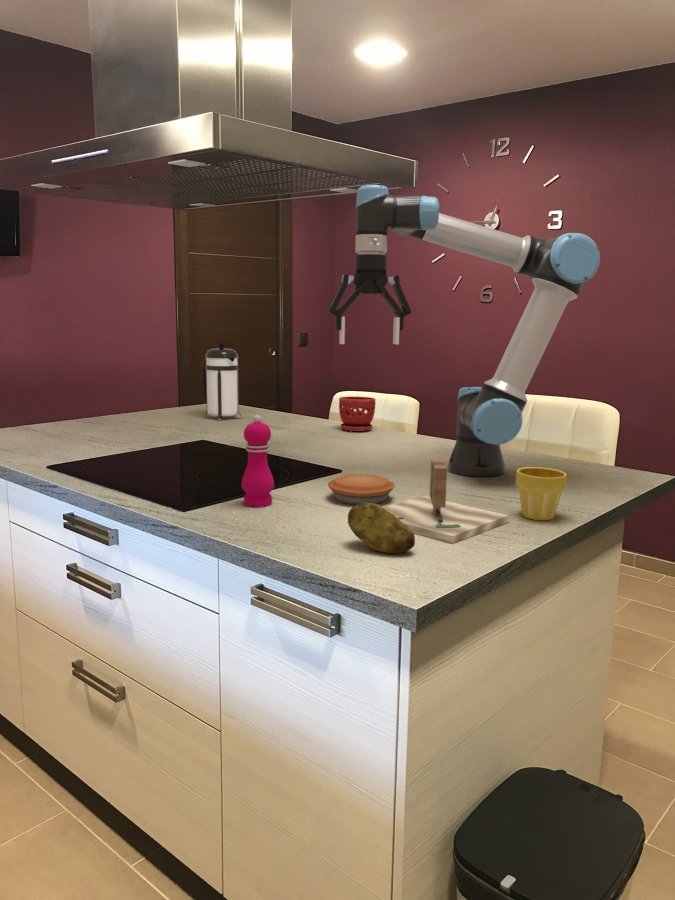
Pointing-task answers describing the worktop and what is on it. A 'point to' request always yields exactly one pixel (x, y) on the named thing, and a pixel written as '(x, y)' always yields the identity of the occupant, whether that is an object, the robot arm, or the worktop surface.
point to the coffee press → (221, 382)
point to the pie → (361, 488)
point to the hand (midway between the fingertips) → (369, 344)
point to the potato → (380, 529)
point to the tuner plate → (445, 519)
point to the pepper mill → (257, 465)
